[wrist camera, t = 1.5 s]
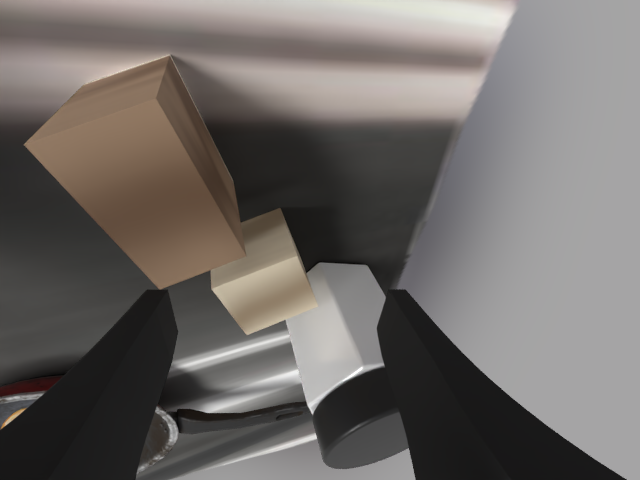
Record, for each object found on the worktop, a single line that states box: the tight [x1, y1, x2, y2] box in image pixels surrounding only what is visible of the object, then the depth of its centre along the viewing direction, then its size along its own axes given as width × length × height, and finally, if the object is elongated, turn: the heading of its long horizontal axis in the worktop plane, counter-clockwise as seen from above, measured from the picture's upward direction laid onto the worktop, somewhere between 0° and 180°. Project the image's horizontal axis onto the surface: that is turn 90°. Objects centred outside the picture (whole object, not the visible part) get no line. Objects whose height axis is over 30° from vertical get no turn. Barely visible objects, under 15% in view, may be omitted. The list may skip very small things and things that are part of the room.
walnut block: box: [24, 55, 246, 289], centre depth 14 cm, size 7×4×7 cm, turn 14°
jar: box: [286, 262, 409, 469], centre depth 24 cm, size 9×8×12 cm
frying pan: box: [0, 375, 311, 474], centre depth 30 cm, size 19×32×4 cm, turn 78°
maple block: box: [211, 208, 318, 335], centre depth 21 cm, size 5×5×5 cm
